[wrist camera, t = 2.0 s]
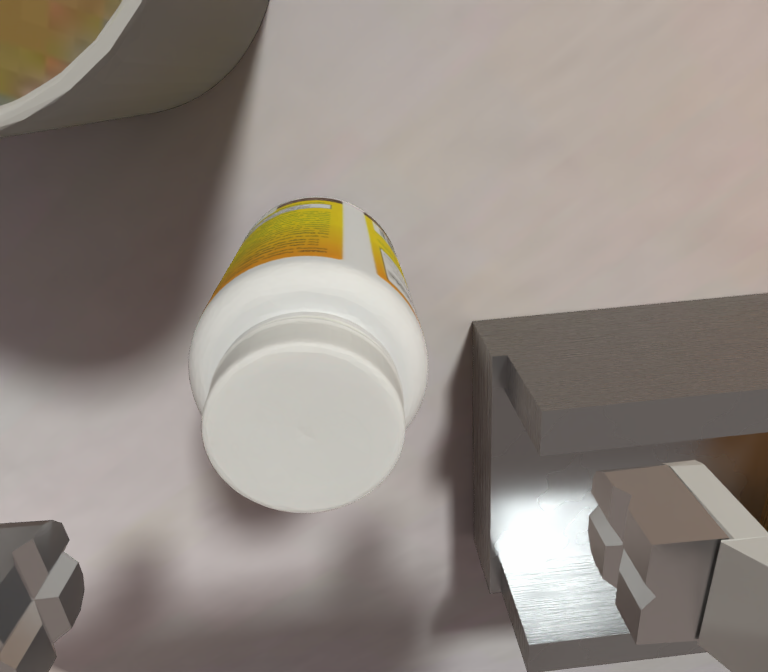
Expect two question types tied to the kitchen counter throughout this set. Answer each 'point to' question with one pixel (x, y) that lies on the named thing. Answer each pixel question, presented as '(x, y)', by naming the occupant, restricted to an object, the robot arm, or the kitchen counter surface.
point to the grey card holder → (604, 449)
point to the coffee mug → (114, 57)
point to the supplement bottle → (309, 359)
